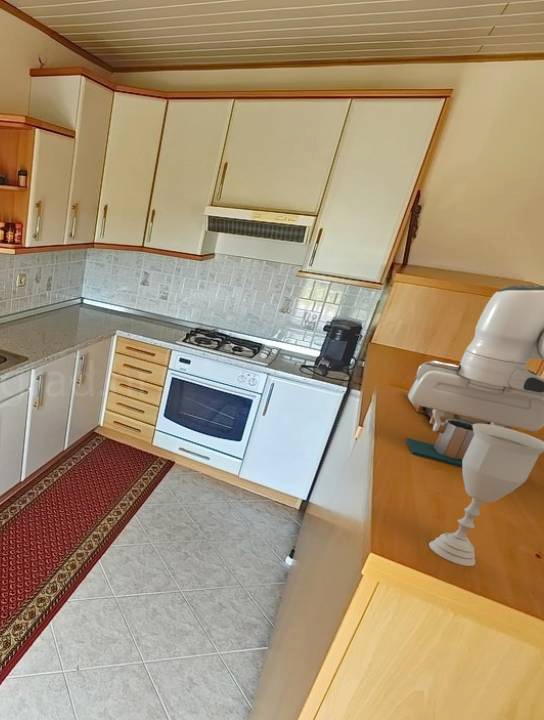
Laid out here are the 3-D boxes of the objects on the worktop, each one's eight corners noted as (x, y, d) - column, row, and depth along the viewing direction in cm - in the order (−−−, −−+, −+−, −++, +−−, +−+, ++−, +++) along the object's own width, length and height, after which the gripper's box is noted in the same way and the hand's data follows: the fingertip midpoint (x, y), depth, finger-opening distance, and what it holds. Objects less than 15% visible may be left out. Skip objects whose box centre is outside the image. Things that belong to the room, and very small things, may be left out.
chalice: (420, 553, 66) (476, 434, 60) (417, 530, 71) (468, 418, 65) (490, 579, 62) (557, 455, 56) (481, 552, 68) (542, 436, 62)
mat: (488, 460, 98) (489, 458, 98) (501, 477, 92) (502, 474, 92) (405, 440, 104) (406, 437, 104) (412, 454, 98) (413, 451, 97)
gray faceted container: (464, 453, 99) (477, 424, 97) (472, 464, 94) (486, 434, 92) (430, 445, 101) (443, 416, 99) (437, 455, 97) (450, 426, 94)
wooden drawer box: (512, 450, 103) (524, 425, 101) (435, 431, 108) (445, 407, 106) (485, 421, 119) (495, 399, 117) (419, 406, 124) (427, 385, 122)
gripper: (425, 361, 93) (399, 426, 98) (567, 389, 85) (531, 458, 90) (419, 354, 99) (394, 416, 103) (552, 380, 90) (518, 446, 95)
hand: (459, 436), depth 96 cm, fingers closed on gray faceted container, 5 cm apart
